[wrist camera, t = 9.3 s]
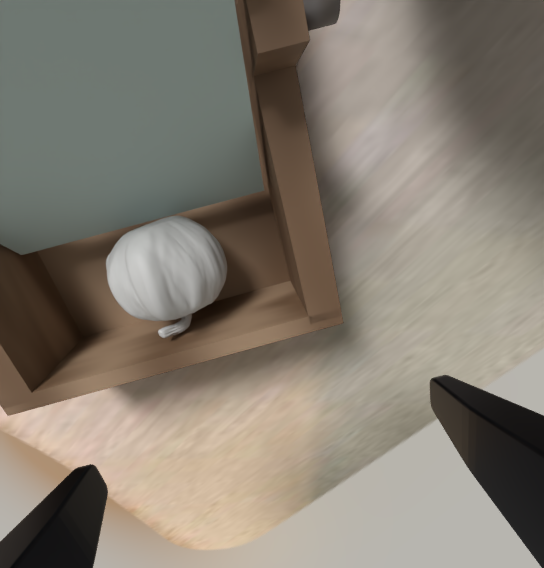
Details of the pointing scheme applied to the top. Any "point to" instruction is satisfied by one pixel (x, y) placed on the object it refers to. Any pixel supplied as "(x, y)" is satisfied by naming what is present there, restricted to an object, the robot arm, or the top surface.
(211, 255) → the garlic
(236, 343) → the frame
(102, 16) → the trapdoor plate
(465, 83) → the top surface
